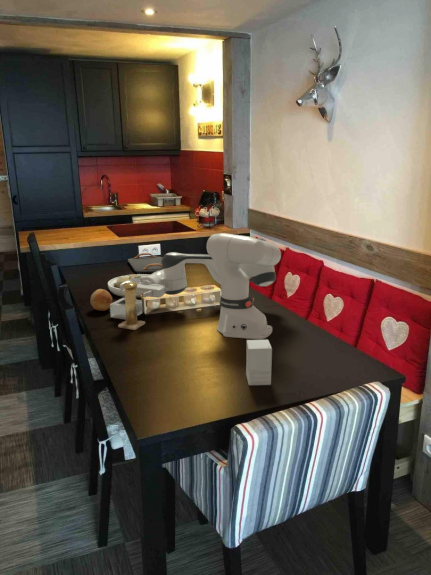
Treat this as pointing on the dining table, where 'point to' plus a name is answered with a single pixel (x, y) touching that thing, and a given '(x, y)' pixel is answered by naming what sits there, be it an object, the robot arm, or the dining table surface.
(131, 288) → the cover plug
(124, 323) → the coaster
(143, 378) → the dining table surface
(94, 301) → the onion
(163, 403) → the dining table surface
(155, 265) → the serving board
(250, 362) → the supplement box
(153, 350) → the dining table surface
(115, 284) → the bowl
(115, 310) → the housing
